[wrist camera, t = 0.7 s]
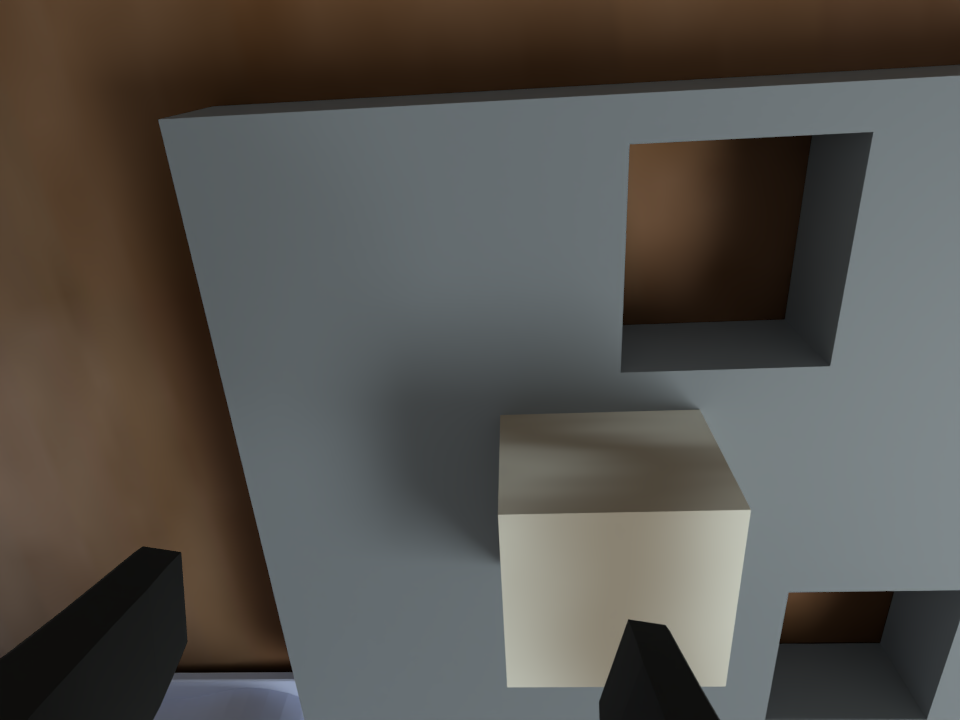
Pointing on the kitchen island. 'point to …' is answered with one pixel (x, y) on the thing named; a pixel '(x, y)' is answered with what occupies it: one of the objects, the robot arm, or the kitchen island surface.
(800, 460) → the trap board
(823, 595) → the kitchen island surface
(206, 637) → the kitchen island surface
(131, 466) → the kitchen island surface
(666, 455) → the birch block
